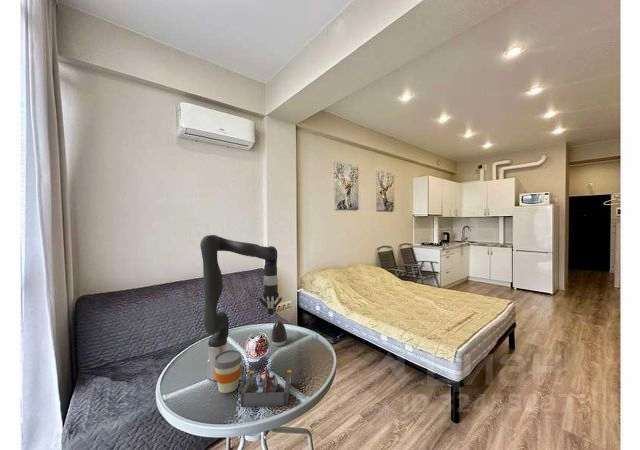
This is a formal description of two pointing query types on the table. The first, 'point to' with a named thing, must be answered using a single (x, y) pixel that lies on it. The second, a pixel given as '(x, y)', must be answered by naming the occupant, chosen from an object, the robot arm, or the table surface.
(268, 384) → the brake caliper
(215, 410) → the table surface
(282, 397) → the cradle
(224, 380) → the reusable coffee cup
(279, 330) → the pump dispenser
